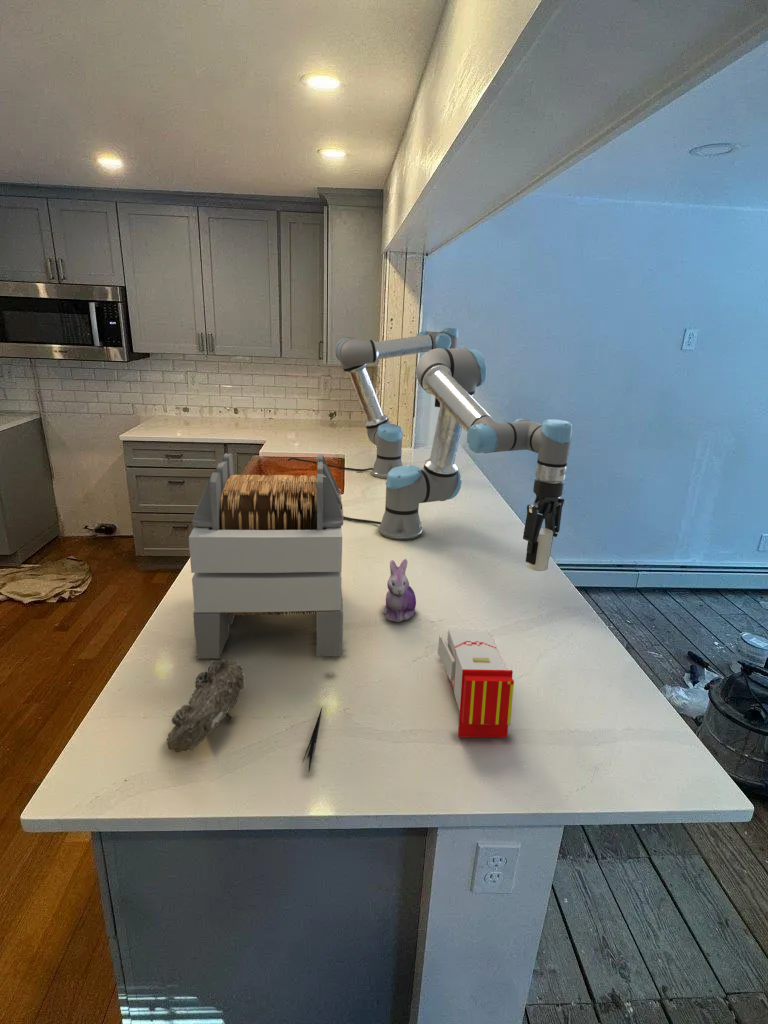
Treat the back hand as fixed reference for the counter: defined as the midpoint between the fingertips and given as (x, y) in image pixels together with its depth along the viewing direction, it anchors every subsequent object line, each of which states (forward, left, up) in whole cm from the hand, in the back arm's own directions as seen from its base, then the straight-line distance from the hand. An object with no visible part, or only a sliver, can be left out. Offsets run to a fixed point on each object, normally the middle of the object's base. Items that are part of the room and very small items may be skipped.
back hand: (444, 405), depth 281 cm
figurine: (+73, -136, -30) cm, 157 cm away
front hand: (+95, -103, -19) cm, 141 cm away
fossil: (+68, -191, -30) cm, 205 cm away
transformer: (+51, -160, -30) cm, 170 cm away
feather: (+84, -179, -30) cm, 200 cm away
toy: (+102, -152, -30) cm, 186 cm away
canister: (+95, -103, -21) cm, 141 cm away
